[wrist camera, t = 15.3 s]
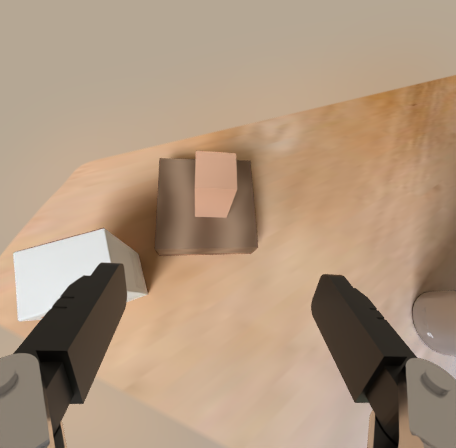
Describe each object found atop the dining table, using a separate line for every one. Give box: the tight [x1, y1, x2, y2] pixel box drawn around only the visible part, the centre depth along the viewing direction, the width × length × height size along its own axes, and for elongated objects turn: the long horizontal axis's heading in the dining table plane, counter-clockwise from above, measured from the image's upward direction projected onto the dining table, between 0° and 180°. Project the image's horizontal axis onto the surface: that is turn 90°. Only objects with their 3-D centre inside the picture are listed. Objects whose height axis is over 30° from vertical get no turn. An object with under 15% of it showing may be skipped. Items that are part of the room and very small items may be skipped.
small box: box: [13, 228, 148, 321], centre depth 27 cm, size 8×6×13 cm
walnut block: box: [155, 158, 258, 256], centre depth 36 cm, size 14×14×5 cm
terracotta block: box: [195, 151, 237, 218], centre depth 29 cm, size 4×4×9 cm
